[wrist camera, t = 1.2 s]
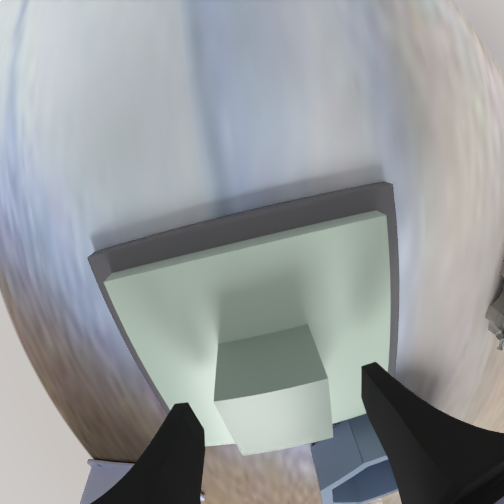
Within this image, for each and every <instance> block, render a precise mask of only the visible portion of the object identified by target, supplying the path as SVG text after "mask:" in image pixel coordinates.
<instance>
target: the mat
mask: <svg viewBox="0 0 504 504" xmlns="http://www.w3.org/2000/svg"><path fill="white" fill-rule="evenodd" d="M375 210H376V211H379V212H381V213H383V214H385V215H386V218H387V229H388V242H389V259H390V290H391V316H390V347H389V363H388V373H389V374H390V375H391V376H392V377H394V376H395V366H396V355H397V341H398V321H399V257H398V238H397V223H396V212H395V202H394V193H393V184H391V183H387V182H381V183H375V184H370V185H365V186H360V187H355V188H350V189H345V190H340V191H335V192H330V193H325V194H320V195H316V196H311V197H306V198H302V199H297V200H293V201H288V202H284V203H279V204H275V205H271V206H266V207H262V208H258V209H254V210H249V211H245V212H241V213H237V214H233V215H229V216H225V217H221V218H217V219H213V220H209V221H205V222H201V223H197V224H193V225H189V226H185V227H182V228H178V229H174V230H170V231H167V232H163V233H159V234H156V235H152V236H148V237H145V238H141V239H138V240H134V241H131V242H127V243H124V244H120V245H117V246H113V247H110V248H107V249H103V250H100V251H97V252H94V253H93V254H92V255H90V256H89V257H88V261H89V263H90V266H91V269H92V271H93V274H94V276H95V278H96V281H97V283H98V286H99V288H100V290H101V293H102V295H103V297H104V299H105V302H106V304H107V306H108V308H109V310H110V313H111V315H112V317H113V319H114V321H115V323H116V325H117V327H118V329H119V331H120V333H121V335H122V337H123V339H124V341H125V343H126V345H127V347H128V349H129V351H130V352H131V354H132V356H133V358H134V360H135V362H136V363H137V365H138V367H139V369H140V370H141V372H142V374H143V376H144V377H145V379H146V381H147V382H148V384H149V386H150V387H151V389H152V391H153V392H154V394H155V396H156V397H157V399H158V400H159V402H160V403H161V405H162V407H163V408H164V410H165V411H166V413H167V414H169V412H170V409H169V407H168V406H167V404H166V403H165V401H164V399H163V398H162V396H161V394H160V393H159V391H158V389H157V388H156V386H155V384H154V383H153V381H152V379H151V378H150V376H149V374H148V372H147V371H146V369H145V367H144V365H143V363H142V361H141V360H140V358H139V356H138V354H137V352H136V350H135V348H134V346H133V345H132V343H131V341H130V339H129V337H128V335H127V333H126V331H125V329H124V327H123V325H122V322H121V320H120V318H119V316H118V314H117V312H116V310H115V307H114V305H113V303H112V301H111V298H110V296H109V294H108V292H107V289H106V287H105V284H104V281H105V280H106V279H107V278H108V277H109V276H110V275H111V274H112V273H114V272H118V271H122V270H126V269H130V268H134V267H138V266H142V265H146V264H150V263H154V262H158V261H162V260H166V259H170V258H174V257H178V256H182V255H186V254H190V253H195V252H199V251H203V250H207V249H211V248H215V247H219V246H223V245H228V244H232V243H236V242H240V241H244V240H248V239H253V238H257V237H261V236H265V235H270V234H274V233H278V232H282V231H287V230H291V229H295V228H300V227H304V226H308V225H313V224H317V223H321V222H326V221H330V220H334V219H339V218H343V217H348V216H352V215H357V214H361V213H366V212H370V211H375Z"/></svg>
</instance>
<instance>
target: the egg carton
mask: <svg viewBox="0 0 504 504" xmlns="http://www.w3.org/2000/svg"><path fill="white" fill-rule="evenodd" d="M500 275H501V276H502V277H503V280H504V260H503V264H502V270H501V274H500ZM485 318H487V319H488V320H489V328H488V330H490V331H491V332H492V333H493V334H495V335H496V337H497V338H498V339H499V340H500V343H499V347H497V349H498V350H502V347H503V346H504V284H503V289H502V292H501V294H500V296H499V298H498V299H497V300H496V301H495V302H494V303H492V304H491V305H490V306H489V308H488V310H487V313H486V317H485Z"/></svg>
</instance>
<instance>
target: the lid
mask: <svg viewBox="0 0 504 504" xmlns="http://www.w3.org/2000/svg"><path fill="white" fill-rule="evenodd" d="M104 284H105V287H106V289H107V292H108V294H109V296H110V298H111V301H112V303H113V305H114V307H115V310H116V312H117V314H118V316H119V318H120V320H121V322H122V325H123V327H124V329H125V331H126V333H127V335H128V337H129V339H130V341H131V343H132V345H133V346H134V348H135V350H136V352H137V354H138V356H139V358H140V360H141V361H142V363H143V365H144V367H145V369H146V371H147V372H148V374H149V376H150V378H151V379H152V381H153V383H154V384H155V386H156V388H157V389H158V391H159V393H160V394H161V396H162V398H163V399H164V401H165V403H166V404H167V406H168V407H169V409H170V410H171V409H172V407H173V405H174V404H176V403H186V402H188V403H189V405H190V407H191V408H192V410H193V412H194V413H195V415H196V417H197V418H198V420H199V422H200V423H201V425H202V427H203V428H204V433H205V446H215V445H225V444H234V443H236V445H237V447H238V449H239V450H240V452H241V454H242V456H243V455H250V454H257V453H264V452H270V451H276V450H281V449H286V448H291V447H296V446H300V445H305V444H309V443H313V442H317V441H321V440H325V439H329V438H333V427H332V424H334V423H337V422H341V421H344V420H347V419H351V418H354V417H357V416H360V415H363V414H366V410H365V407H364V404H363V401H362V398H361V366H364V365H367V364H370V363H373V362H377V363H378V364H379V365H380V366H381V367H382V368H383V369H385V370H386V371H387V372H388V363H389V347H390V316H391V290H390V259H389V242H388V229H387V218H386V215H385V214H383V213H381V212H379V211H376V210H375V211H370V212H366V213H361V214H357V215H352V216H348V217H343V218H339V219H334V220H330V221H326V222H321V223H317V224H313V225H308V226H304V227H300V228H295V229H291V230H287V231H282V232H278V233H274V234H270V235H265V236H261V237H257V238H253V239H248V240H244V241H240V242H236V243H232V244H228V245H223V246H219V247H215V248H211V249H207V250H203V251H199V252H195V253H190V254H186V255H182V256H178V257H174V258H170V259H166V260H162V261H158V262H154V263H150V264H146V265H142V266H138V267H134V268H130V269H126V270H122V271H118V272H114V273H112V274H111V275H110V276H109V277H108V278H107V279H106V280H105V281H104Z"/></svg>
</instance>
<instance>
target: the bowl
mask: <svg viewBox="0 0 504 504" xmlns="http://www.w3.org/2000/svg"><path fill="white" fill-rule="evenodd" d="M311 451H312V457H313V462H314V467H315V472H316V476H317V481H318V485H319V490H320V494H321V499H322V504H364V503H367V502H370V501H373V500H376V499H378V498H381V497H384V496H387V495H389V494H392V493H394V492H397V491H398V487H397V484H396V480H395V477H394V474H393V471H392V468H391V465H390V462H389V460H388V457H387V455H386V453H385V451H384V449H383V447H382V445H381V443H380V441H379V439H378V437H377V435H376V433H375V431H374V428H373V426H372V424H371V422H370V420H369V418H368V416H367V413H366V414H363V415H360V416H357V417H354V418H351V419H347V420H344V421H341V422H340V423H338V424H337V425H335V426H334V427H333V438H329V439H325V440H321V441H317V443H316V444H315V445H314V446H312V447H311Z"/></svg>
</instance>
